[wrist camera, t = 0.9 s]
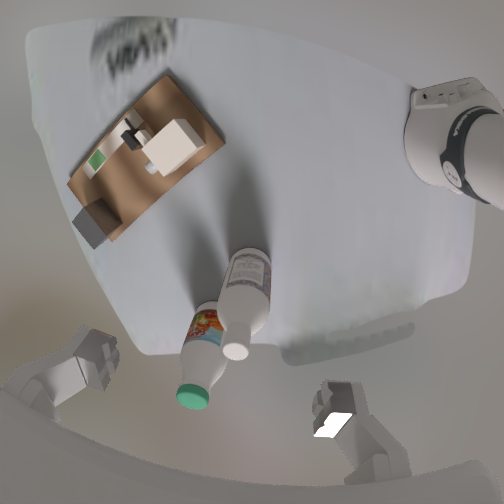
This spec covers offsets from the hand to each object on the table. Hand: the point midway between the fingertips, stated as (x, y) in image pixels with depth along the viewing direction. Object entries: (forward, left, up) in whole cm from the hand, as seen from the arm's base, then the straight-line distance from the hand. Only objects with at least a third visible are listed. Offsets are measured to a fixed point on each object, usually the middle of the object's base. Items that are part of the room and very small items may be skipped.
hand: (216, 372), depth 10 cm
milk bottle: (+22, +16, -35) cm, 44 cm away
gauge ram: (+7, -13, -34) cm, 37 cm away
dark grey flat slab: (+10, -18, -34) cm, 39 cm away
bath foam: (+10, +11, -35) cm, 38 cm away
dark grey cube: (+25, -11, -34) cm, 43 cm away
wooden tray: (+14, -14, -35) cm, 41 cm away
